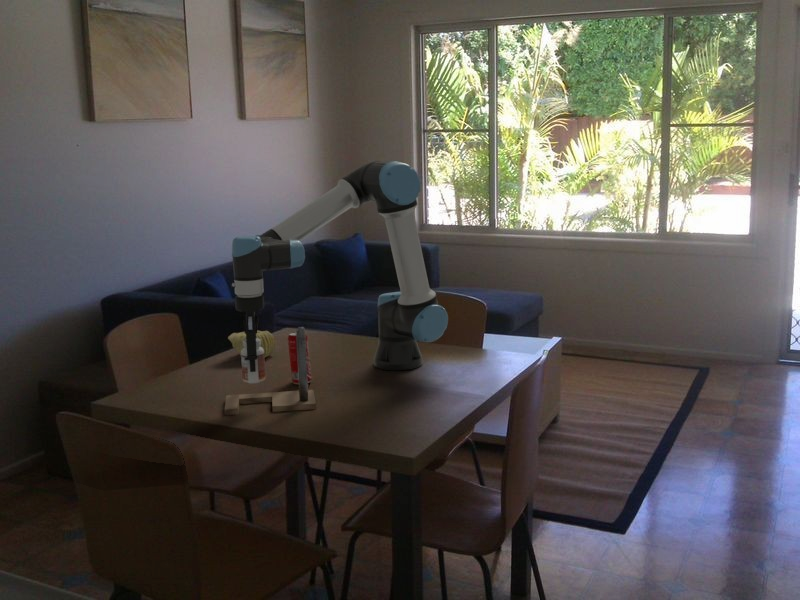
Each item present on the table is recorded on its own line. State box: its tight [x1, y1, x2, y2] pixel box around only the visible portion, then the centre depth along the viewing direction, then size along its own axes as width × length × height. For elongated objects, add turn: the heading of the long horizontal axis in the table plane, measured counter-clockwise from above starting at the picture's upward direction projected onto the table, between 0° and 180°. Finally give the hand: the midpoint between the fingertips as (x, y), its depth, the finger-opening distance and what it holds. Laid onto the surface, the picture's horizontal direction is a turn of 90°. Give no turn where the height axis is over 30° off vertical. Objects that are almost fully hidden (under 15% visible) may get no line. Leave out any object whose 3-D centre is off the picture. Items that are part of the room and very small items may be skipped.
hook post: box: [295, 326, 309, 402], centre depth 238 cm, size 2×8×23 cm, turn 8°
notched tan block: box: [224, 389, 317, 416], centre depth 244 cm, size 24×13×2 cm, turn 98°
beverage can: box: [287, 331, 313, 385], centre depth 264 cm, size 6×6×15 cm
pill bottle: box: [240, 338, 267, 383], centre depth 240 cm, size 6×6×11 cm
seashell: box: [227, 330, 276, 358], centre depth 294 cm, size 17×11×15 cm
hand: (253, 379), depth 241 cm, fingers closed on pill bottle, 6 cm apart
